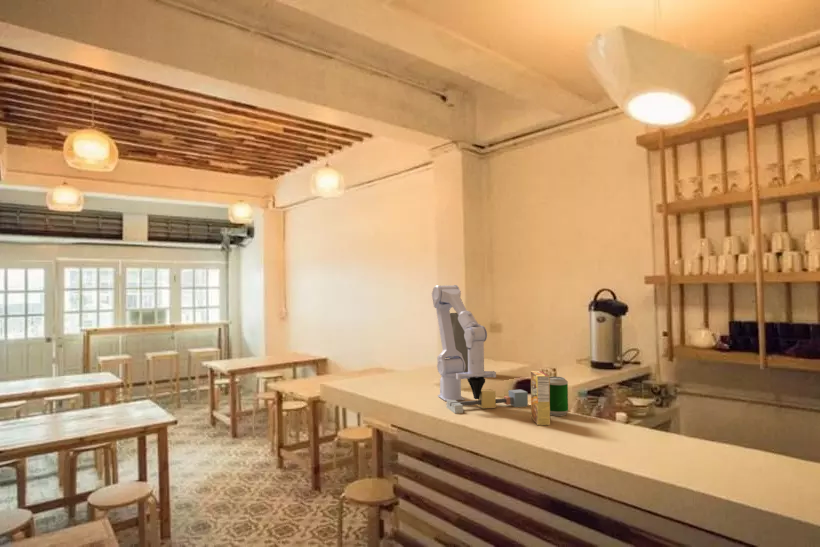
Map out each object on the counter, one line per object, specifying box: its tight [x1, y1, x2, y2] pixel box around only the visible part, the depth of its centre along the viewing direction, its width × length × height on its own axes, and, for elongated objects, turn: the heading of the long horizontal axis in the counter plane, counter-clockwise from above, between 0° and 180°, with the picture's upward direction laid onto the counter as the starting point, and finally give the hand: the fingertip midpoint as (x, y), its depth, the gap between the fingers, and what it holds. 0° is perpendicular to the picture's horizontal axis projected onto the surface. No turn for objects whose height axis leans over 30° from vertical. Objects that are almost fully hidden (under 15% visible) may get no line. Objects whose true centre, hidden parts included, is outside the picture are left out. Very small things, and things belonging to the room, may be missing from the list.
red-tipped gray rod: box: [451, 395, 511, 407], centre depth 173 cm, size 23×3×3 cm, turn 105°
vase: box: [450, 312, 468, 372], centre depth 246 cm, size 12×12×30 cm
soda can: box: [550, 376, 569, 417], centre depth 164 cm, size 8×8×12 cm
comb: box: [445, 400, 464, 414], centre depth 171 cm, size 9×3×3 cm, turn 15°
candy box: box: [530, 370, 551, 426], centre depth 155 cm, size 9×4×15 cm, turn 179°
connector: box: [507, 389, 529, 408], centre depth 177 cm, size 5×7×5 cm
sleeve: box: [477, 388, 497, 409], centre depth 174 cm, size 4×5×6 cm
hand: (476, 398), depth 173 cm, fingers closed
